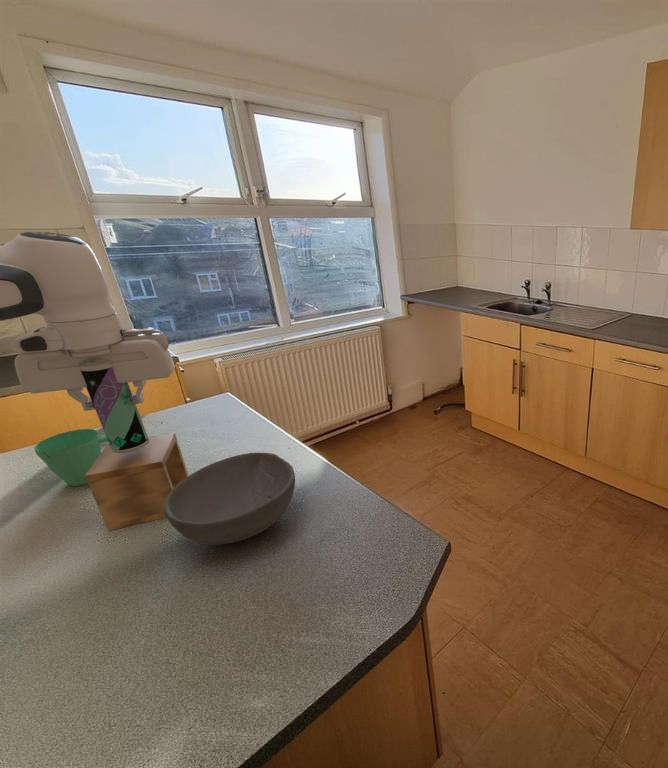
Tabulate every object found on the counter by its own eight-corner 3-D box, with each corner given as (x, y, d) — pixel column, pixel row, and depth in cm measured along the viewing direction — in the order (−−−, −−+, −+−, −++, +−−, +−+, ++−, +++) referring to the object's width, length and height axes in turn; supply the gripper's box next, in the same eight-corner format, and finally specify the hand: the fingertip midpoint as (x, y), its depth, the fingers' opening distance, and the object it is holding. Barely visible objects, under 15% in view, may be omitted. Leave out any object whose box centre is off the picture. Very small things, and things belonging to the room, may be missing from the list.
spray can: (110, 445, 82) (69, 346, 74) (146, 435, 86) (111, 339, 78) (114, 456, 78) (72, 353, 70) (151, 445, 82) (115, 346, 74)
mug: (50, 499, 88) (30, 457, 84) (55, 477, 95) (37, 437, 91) (142, 473, 97) (127, 434, 93) (140, 455, 104) (127, 418, 100)
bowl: (151, 548, 76) (133, 502, 72) (251, 484, 94) (241, 444, 90) (234, 581, 70) (219, 532, 66) (325, 505, 88) (317, 464, 84)
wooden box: (108, 530, 80) (84, 475, 75) (127, 494, 90) (107, 443, 85) (180, 514, 84) (161, 461, 80) (190, 481, 94) (174, 432, 90)
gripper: (167, 322, 80) (187, 390, 85) (16, 334, 72) (49, 408, 77) (159, 331, 75) (181, 402, 80) (-5, 344, 66) (32, 423, 72)
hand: (115, 405), depth 79 cm, fingers closed on spray can, 5 cm apart
